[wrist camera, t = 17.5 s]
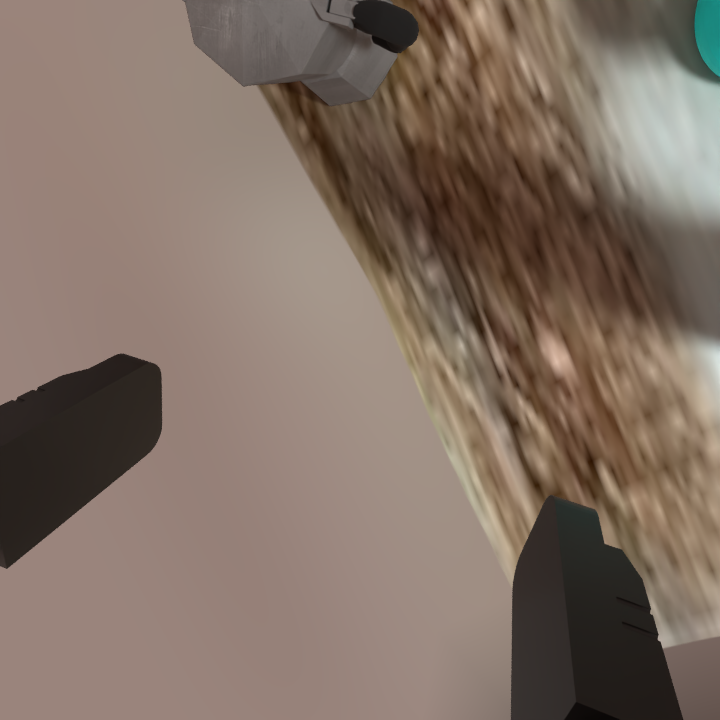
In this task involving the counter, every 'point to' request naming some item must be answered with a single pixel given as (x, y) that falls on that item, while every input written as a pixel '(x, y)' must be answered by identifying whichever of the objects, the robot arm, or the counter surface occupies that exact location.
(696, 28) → the donuts
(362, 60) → the coffeepot
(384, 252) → the counter surface
